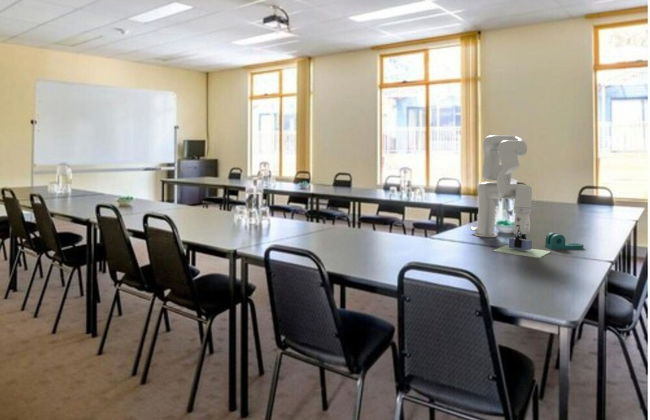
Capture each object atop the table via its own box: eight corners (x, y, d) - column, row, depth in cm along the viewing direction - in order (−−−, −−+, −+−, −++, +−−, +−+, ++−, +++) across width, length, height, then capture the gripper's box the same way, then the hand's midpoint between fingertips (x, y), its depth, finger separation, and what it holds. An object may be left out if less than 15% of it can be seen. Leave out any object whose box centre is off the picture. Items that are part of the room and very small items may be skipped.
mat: (493, 251, 234) (493, 250, 234) (506, 245, 247) (506, 245, 247) (539, 258, 220) (539, 257, 219) (550, 252, 233) (550, 251, 233)
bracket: (551, 249, 239) (553, 234, 238) (545, 247, 246) (546, 232, 245) (586, 249, 240) (587, 234, 239) (578, 247, 247) (579, 232, 246)
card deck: (525, 250, 229) (526, 241, 228) (508, 247, 236) (509, 238, 235) (531, 249, 232) (532, 239, 231) (514, 246, 239) (515, 237, 238)
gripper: (524, 212, 222) (522, 250, 225) (535, 209, 235) (533, 244, 238) (508, 211, 227) (506, 247, 230) (520, 208, 240) (518, 242, 243)
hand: (520, 246), depth 234 cm, fingers closed on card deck, 6 cm apart
